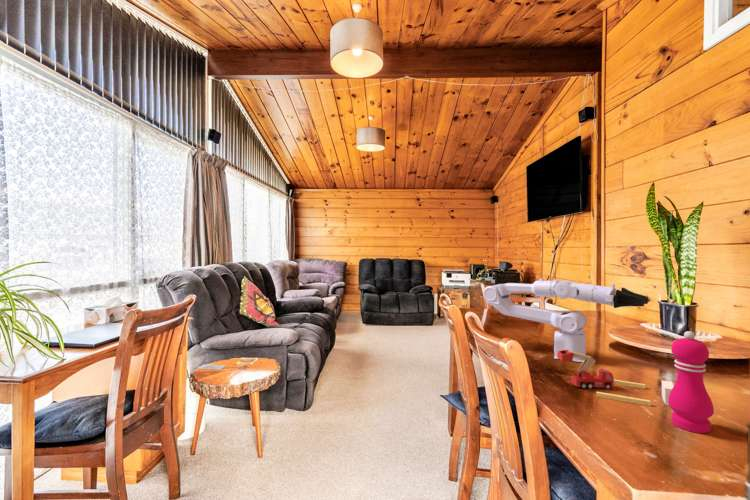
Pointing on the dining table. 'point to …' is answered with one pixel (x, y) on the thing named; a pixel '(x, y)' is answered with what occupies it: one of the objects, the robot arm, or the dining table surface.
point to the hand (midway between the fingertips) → (646, 301)
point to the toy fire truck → (585, 377)
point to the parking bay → (666, 387)
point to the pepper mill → (690, 386)
